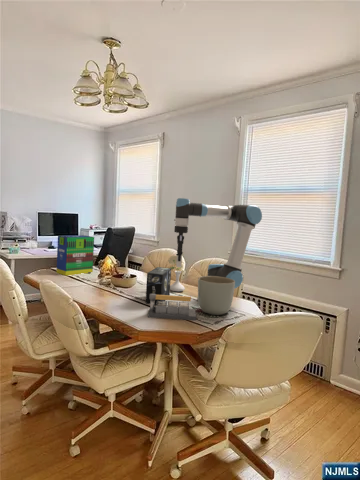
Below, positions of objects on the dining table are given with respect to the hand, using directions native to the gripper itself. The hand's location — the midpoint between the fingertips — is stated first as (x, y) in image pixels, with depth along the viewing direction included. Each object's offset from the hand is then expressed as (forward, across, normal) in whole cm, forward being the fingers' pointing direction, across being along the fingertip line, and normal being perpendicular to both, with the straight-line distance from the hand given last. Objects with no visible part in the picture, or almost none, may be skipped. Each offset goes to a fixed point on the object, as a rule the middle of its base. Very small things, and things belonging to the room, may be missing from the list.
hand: (178, 265), depth 195 cm
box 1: (+25, -86, -83) cm, 122 cm away
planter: (+25, +2, +22) cm, 34 cm away
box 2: (+25, -17, -11) cm, 32 cm away
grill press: (+25, +12, -2) cm, 28 cm away
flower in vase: (+25, -45, 0) cm, 52 cm away
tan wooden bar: (+17, +12, -4) cm, 21 cm away
